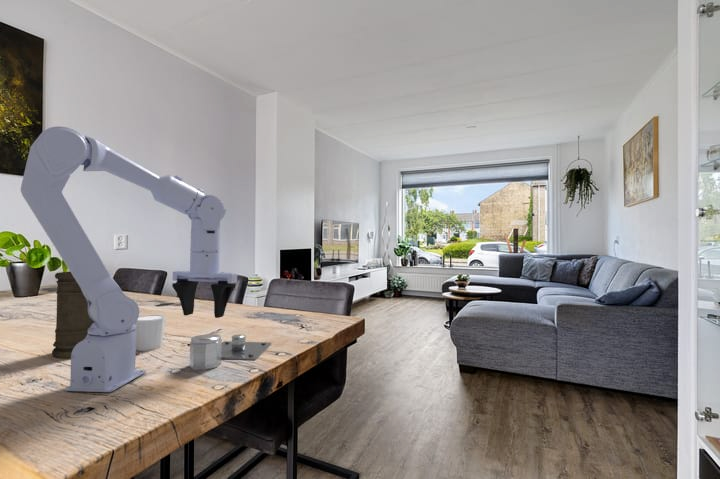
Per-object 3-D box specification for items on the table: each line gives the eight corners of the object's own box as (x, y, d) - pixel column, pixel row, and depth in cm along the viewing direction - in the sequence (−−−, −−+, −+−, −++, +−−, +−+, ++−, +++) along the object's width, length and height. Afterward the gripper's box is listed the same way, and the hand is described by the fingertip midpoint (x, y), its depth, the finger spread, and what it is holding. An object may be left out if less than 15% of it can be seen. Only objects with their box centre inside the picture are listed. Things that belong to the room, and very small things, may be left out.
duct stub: (255, 359, 76) (255, 344, 76) (200, 358, 77) (201, 342, 77) (271, 344, 88) (271, 330, 88) (223, 342, 89) (224, 329, 89)
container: (74, 360, 75) (76, 274, 75) (40, 356, 76) (42, 272, 77) (112, 347, 83) (114, 271, 84) (80, 345, 85) (82, 269, 85)
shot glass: (125, 348, 83) (125, 318, 83) (153, 341, 89) (154, 313, 89) (142, 353, 80) (143, 322, 80) (171, 345, 86) (172, 316, 86)
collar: (212, 370, 70) (213, 341, 70) (185, 369, 70) (185, 341, 70) (225, 360, 76) (226, 334, 76) (199, 359, 76) (200, 333, 76)
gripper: (245, 252, 78) (244, 314, 78) (189, 250, 82) (187, 310, 81) (226, 253, 71) (224, 321, 71) (165, 251, 75) (164, 316, 74)
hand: (203, 315), depth 76 cm, fingers open, 7 cm apart
